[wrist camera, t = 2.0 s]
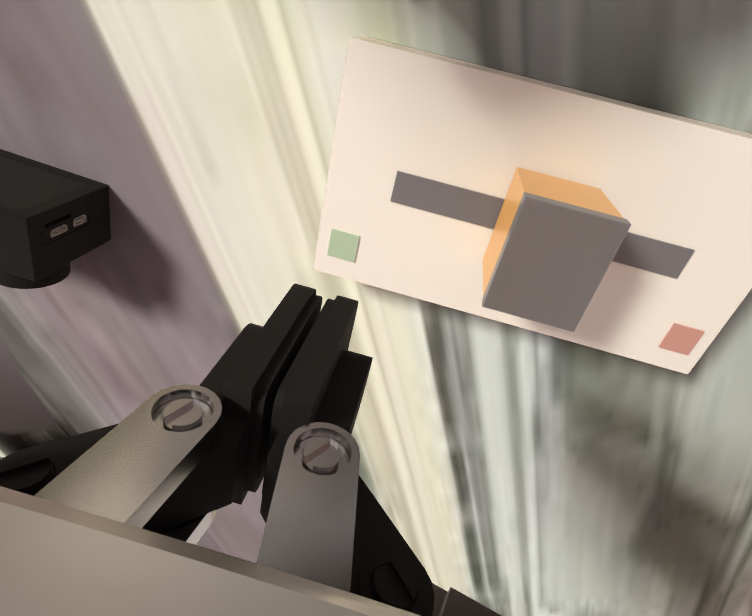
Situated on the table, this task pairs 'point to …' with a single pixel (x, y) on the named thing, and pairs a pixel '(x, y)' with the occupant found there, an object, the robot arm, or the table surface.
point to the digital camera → (46, 221)
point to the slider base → (544, 155)
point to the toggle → (550, 249)
